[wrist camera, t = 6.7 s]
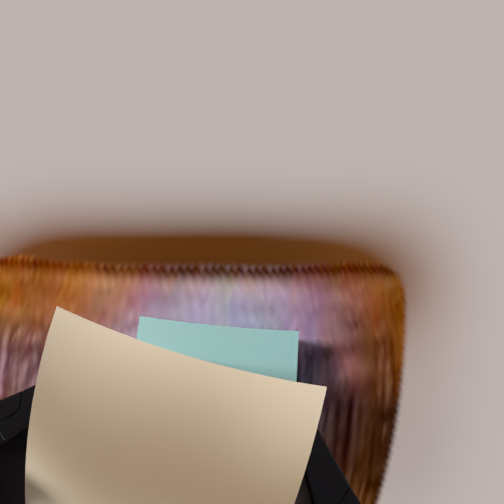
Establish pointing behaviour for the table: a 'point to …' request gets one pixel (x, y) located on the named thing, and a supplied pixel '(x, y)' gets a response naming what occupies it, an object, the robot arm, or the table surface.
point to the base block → (227, 345)
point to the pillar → (160, 425)
